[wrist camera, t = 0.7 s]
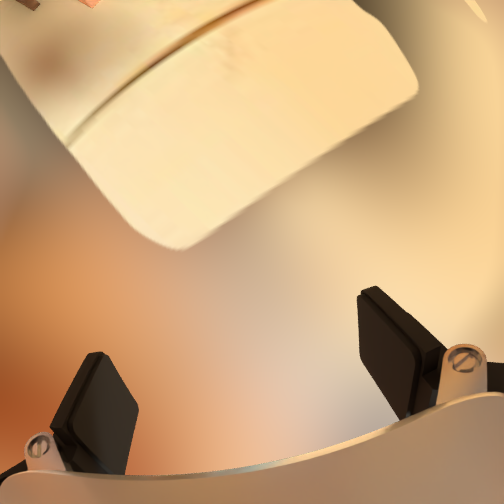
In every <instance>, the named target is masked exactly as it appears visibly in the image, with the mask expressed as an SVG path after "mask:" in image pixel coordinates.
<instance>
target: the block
mask: <svg viewBox="0 0 504 504" xmlns="http://www.w3.org/2000/svg"><path fill="white" fill-rule="evenodd" d="M79 1H81V2H82V3H84V4H86V5H87V6H89V7H91V8H93V7H94V6H95V5H96V4H97V3H98V2H99V1H100V0H79Z"/></svg>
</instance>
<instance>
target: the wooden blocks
mask: <svg viewBox="0 0 504 504" xmlns="http://www.w3.org/2000/svg"><path fill="white" fill-rule="evenodd" d="M17 1H18V2H20V3H22V4H23V5H25V6H27V7H28V8H30V9H32V10H33V11H34V10H35V9H36V8H37V7H38V6H39V5H40V3H38V2H37V1H36V0H17Z"/></svg>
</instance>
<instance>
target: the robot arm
mask: <svg viewBox="0 0 504 504" xmlns="http://www.w3.org/2000/svg"><path fill="white" fill-rule="evenodd" d="M357 308H358V327H359V352H360V358H361V360H362V362H363V364H364V366H365V367H366V369H367V370H368V372H369V373H370V375H371V376H372V378H373V379H374V381H375V382H376V384H377V385H378V387H379V389H380V390H381V391H382V393H383V395H384V396H385V397H386V399H387V401H388V402H389V404H390V406H391V407H392V409H393V411H394V412H395V414H396V415H397V417H398V418H399V420H400V421H398V422H395V423H393V424H391V425H388V426H386V427H383V428H381V429H379V430H376V431H373V432H370V433H368V434H365V435H363V436H360V437H357V438H354V439H351V440H349V441H345V442H342V443H339V444H336V445H333V446H330V447H327V448H324V449H320V450H317V451H314V452H310V453H306V454H302V455H298V456H295V457H290V458H286V459H282V460H277V461H273V462H268V463H263V464H258V465H253V466H247V467H241V468H234V469H228V470H220V471H212V472H202V473H191V474H176V475H147V476H146V475H145V476H144V475H143V476H142V475H141V476H139V475H138V476H137V475H125V470H126V465H127V460H128V456H129V451H130V446H131V442H132V438H133V433H134V429H135V425H136V421H137V416H138V412H139V409H138V404H137V402H136V401H135V399H134V398H133V396H132V395H131V393H130V392H129V390H128V388H127V387H126V385H125V383H124V382H123V380H122V378H121V377H120V375H119V373H118V372H117V370H116V368H115V366H114V365H113V363H112V361H111V359H110V358H109V356H108V355H105V354H104V353H103V352H94V353H89V354H88V355H87V356H86V358H85V360H84V361H83V363H82V365H81V367H80V369H79V370H78V372H77V374H76V376H75V378H74V380H73V382H72V383H71V385H70V387H69V389H68V391H67V393H66V395H65V397H64V398H63V400H62V402H61V404H60V406H59V408H58V410H57V413H56V414H55V416H54V418H53V421H52V423H51V425H50V428H51V429H52V430H53V432H54V434H53V436H52V435H51V434H49V433H46V432H41V433H38V434H35V435H34V436H33V437H31V438H30V439H29V440H28V442H27V443H26V445H25V449H24V454H25V460H23V461H22V462H20V463H19V464H17V465H16V466H14V467H12V468H10V469H9V470H7V471H5V472H4V473H2V474H1V475H0V504H504V363H494V362H487V360H486V355H485V354H484V352H483V351H482V350H481V349H480V348H478V347H476V346H474V345H471V344H458V345H455V346H453V347H451V348H449V349H447V348H446V347H445V346H444V345H443V344H442V343H440V342H439V341H438V340H437V339H436V338H435V337H434V336H433V335H432V334H431V333H430V332H429V331H428V330H427V329H426V328H424V326H422V325H421V324H420V323H419V322H418V321H417V320H416V319H415V318H414V317H413V316H412V315H410V314H409V313H407V312H406V311H405V310H404V309H402V308H401V307H400V306H399V305H398V304H397V303H396V302H395V301H394V300H392V299H391V298H390V297H389V296H388V295H387V294H386V293H384V292H383V291H382V290H381V289H380V288H379V287H377V286H373V287H370V288H367V289H364V290H362V291H361V295H358V296H357Z"/></svg>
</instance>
